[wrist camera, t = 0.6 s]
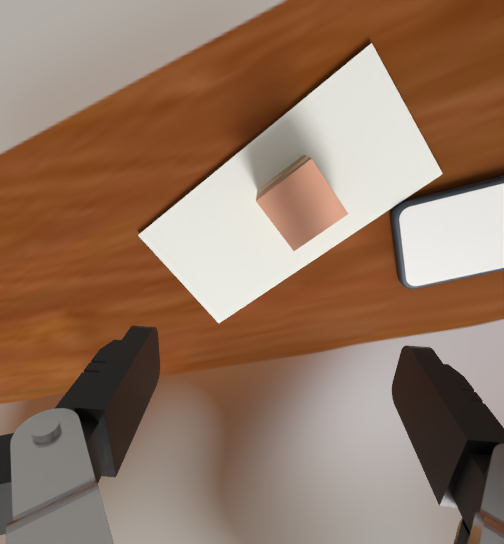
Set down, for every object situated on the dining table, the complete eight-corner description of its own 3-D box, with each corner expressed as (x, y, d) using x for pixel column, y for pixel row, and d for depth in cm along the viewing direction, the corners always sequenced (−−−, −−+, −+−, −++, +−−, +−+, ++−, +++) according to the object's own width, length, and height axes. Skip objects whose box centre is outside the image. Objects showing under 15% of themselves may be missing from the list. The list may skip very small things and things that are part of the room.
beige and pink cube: (304, 154, 29) (311, 158, 24) (335, 201, 30) (348, 213, 26) (257, 190, 30) (255, 201, 25) (289, 233, 31) (293, 251, 27)
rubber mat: (370, 44, 26) (371, 42, 25) (440, 173, 29) (442, 173, 29) (139, 233, 32) (138, 235, 32) (219, 321, 36) (218, 323, 35)
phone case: (397, 286, 34) (571, 249, 32) (402, 293, 33) (585, 255, 30) (386, 202, 31) (578, 153, 29) (392, 205, 30) (595, 154, 27)
